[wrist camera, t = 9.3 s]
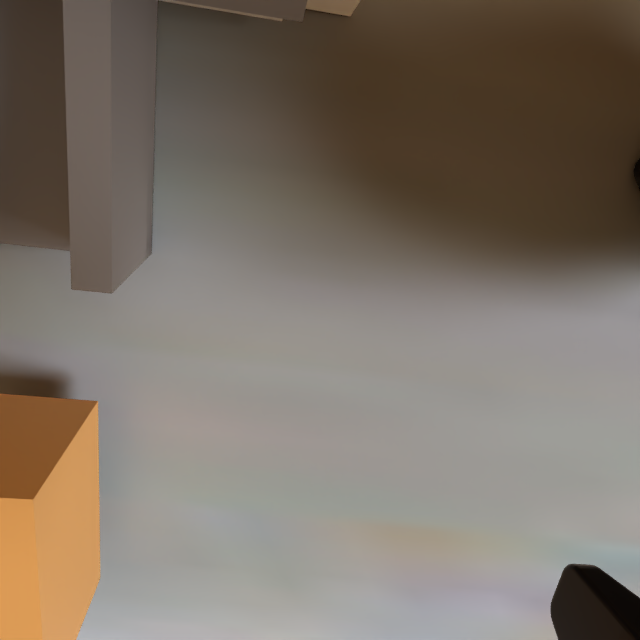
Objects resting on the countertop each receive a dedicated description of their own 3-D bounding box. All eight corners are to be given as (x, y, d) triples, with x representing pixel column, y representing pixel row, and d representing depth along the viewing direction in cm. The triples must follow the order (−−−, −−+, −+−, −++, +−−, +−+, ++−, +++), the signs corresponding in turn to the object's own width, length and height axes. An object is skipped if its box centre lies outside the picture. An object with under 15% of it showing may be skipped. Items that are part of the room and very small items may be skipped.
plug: (-27, 391, 17) (-140, 490, 13) (97, 401, 18) (32, 499, 13) (5, 693, 22) (-67, 844, 18) (101, 695, 23) (56, 842, 18)
